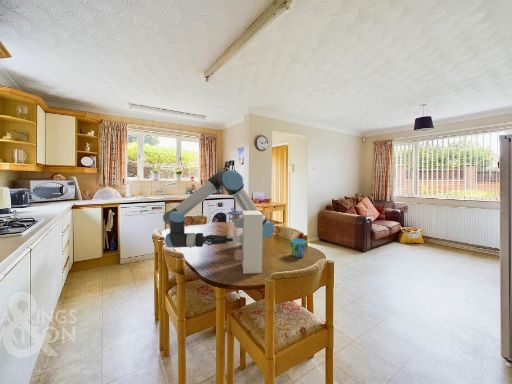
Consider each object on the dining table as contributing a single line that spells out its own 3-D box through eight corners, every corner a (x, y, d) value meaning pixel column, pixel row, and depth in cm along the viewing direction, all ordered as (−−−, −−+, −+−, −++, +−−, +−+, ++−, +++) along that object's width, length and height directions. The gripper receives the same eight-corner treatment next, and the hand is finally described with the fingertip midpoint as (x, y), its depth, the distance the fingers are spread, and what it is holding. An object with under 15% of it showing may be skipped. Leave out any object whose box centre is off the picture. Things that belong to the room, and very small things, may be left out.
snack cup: (299, 260, 140) (299, 244, 139) (284, 256, 146) (285, 241, 146) (310, 254, 152) (311, 239, 151) (296, 250, 158) (297, 236, 158)
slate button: (242, 226, 128) (242, 218, 128) (243, 227, 123) (243, 220, 123) (234, 226, 127) (234, 218, 127) (234, 228, 123) (234, 220, 123)
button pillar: (258, 262, 135) (259, 210, 133) (261, 272, 122) (262, 214, 119) (242, 263, 134) (242, 210, 132) (243, 273, 120) (244, 214, 118)
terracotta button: (242, 256, 129) (242, 249, 129) (243, 259, 125) (243, 252, 124) (234, 257, 129) (234, 249, 128) (234, 260, 124) (234, 252, 124)
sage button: (247, 241, 129) (247, 234, 128) (247, 243, 124) (247, 236, 124) (238, 241, 128) (238, 234, 128) (239, 244, 124) (239, 236, 124)
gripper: (197, 243, 130) (238, 242, 133) (193, 250, 117) (239, 249, 120) (197, 230, 129) (238, 229, 132) (193, 236, 116) (239, 235, 119)
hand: (238, 239), depth 126 cm, fingers closed
